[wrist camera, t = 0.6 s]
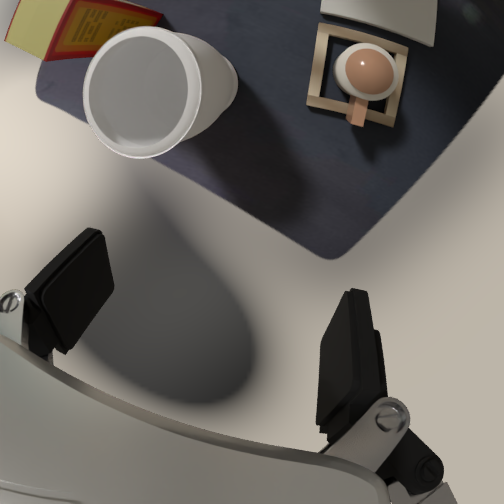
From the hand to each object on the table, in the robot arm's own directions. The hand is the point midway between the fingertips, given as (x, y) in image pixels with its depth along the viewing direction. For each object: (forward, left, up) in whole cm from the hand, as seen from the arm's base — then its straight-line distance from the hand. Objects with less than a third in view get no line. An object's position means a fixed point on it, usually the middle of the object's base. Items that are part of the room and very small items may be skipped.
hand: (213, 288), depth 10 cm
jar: (-6, -10, -26) cm, 28 cm away
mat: (-21, +9, -26) cm, 34 cm away
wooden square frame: (-10, +7, -26) cm, 28 cm away
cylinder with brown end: (-8, +7, -26) cm, 28 cm away
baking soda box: (-15, -22, -26) cm, 37 cm away
